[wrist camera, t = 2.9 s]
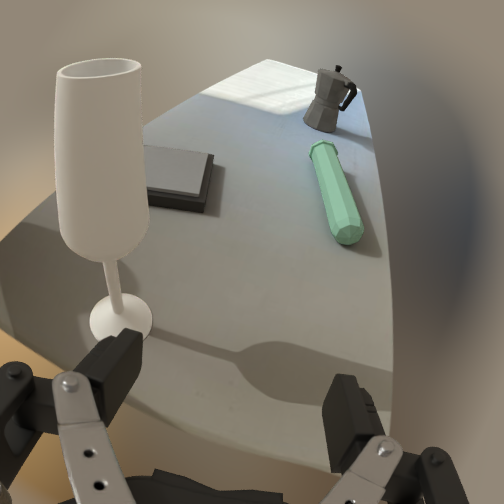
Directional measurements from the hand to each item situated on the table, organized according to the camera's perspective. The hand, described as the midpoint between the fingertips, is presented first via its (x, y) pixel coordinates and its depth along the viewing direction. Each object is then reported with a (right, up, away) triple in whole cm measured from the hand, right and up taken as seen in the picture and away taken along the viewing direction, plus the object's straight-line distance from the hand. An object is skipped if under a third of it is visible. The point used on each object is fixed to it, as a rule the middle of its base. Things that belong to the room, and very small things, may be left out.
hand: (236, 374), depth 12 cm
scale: (-13, +16, +36) cm, 41 cm away
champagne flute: (-13, -2, +18) cm, 22 cm away
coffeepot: (+19, +38, +68) cm, 80 cm away
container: (+14, +14, +42) cm, 47 cm away
